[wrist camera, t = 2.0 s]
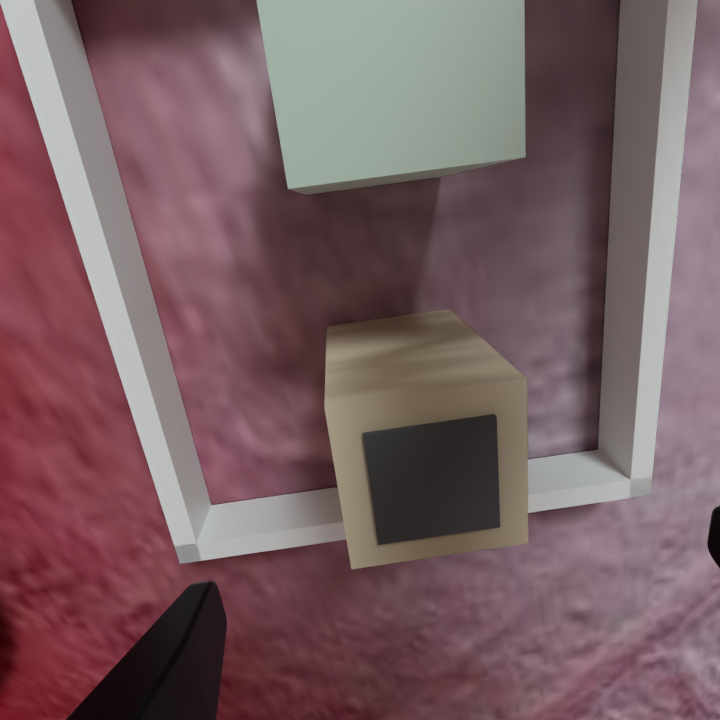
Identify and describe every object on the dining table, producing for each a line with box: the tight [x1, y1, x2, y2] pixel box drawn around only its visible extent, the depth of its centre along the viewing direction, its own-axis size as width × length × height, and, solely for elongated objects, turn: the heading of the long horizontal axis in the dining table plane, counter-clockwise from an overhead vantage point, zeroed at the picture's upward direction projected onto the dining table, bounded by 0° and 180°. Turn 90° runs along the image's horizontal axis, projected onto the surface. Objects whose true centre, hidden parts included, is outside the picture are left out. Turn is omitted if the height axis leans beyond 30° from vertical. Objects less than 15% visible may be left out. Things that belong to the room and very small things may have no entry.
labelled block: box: [324, 309, 528, 569], centre depth 14 cm, size 4×5×7 cm
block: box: [256, 0, 526, 195], centre depth 11 cm, size 4×4×7 cm
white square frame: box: [0, 0, 698, 564], centre depth 15 cm, size 18×20×2 cm
